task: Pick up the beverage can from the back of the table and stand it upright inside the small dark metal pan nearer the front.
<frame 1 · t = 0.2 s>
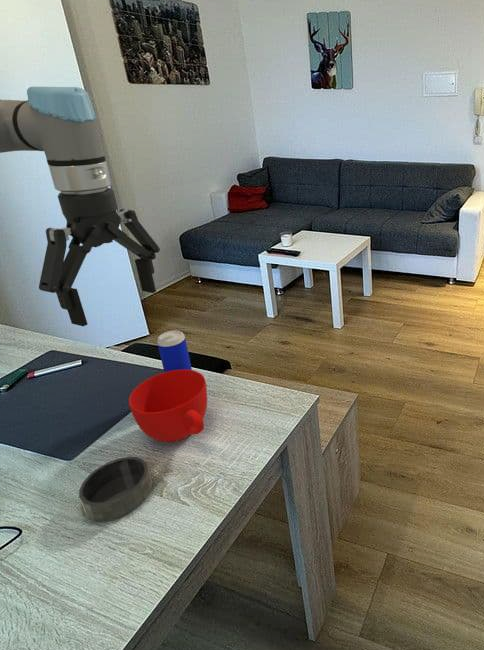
hand: (117, 306, 78), 26 cm above the table, tool pointing down, fingers open, 13 cm apart
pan: (120, 497, 71), on the table
ceramic cup: (183, 435, 84), on the table
beverage can: (183, 395, 96), on the table
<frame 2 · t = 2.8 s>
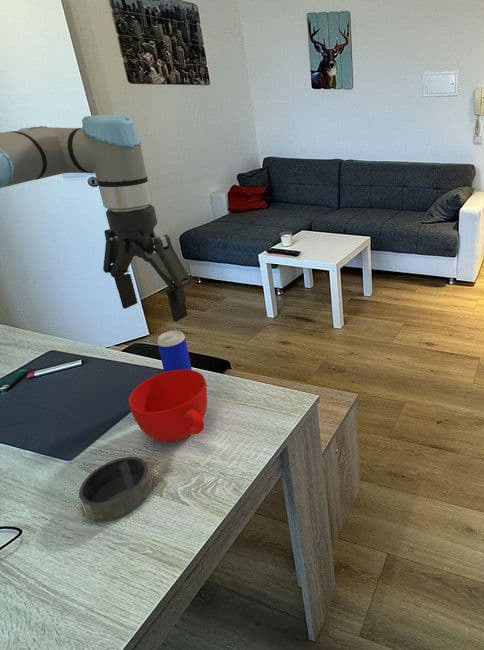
hand: (154, 311, 85), 22 cm above the table, tool pointing down, fingers open, 13 cm apart
nothing on the table moved.
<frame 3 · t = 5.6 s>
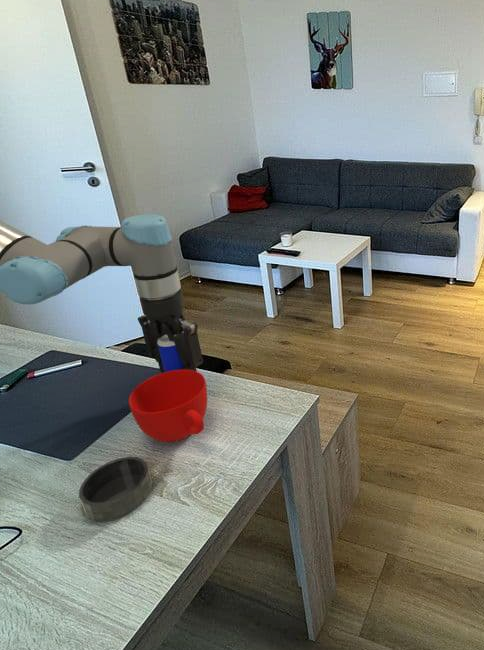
hand: (182, 387, 95), 2 cm above the table, tool pointing down, fingers closed on beverage can, 5 cm apart
beverage can: (183, 395, 96), on the table, touching gripper
everything else where it was.
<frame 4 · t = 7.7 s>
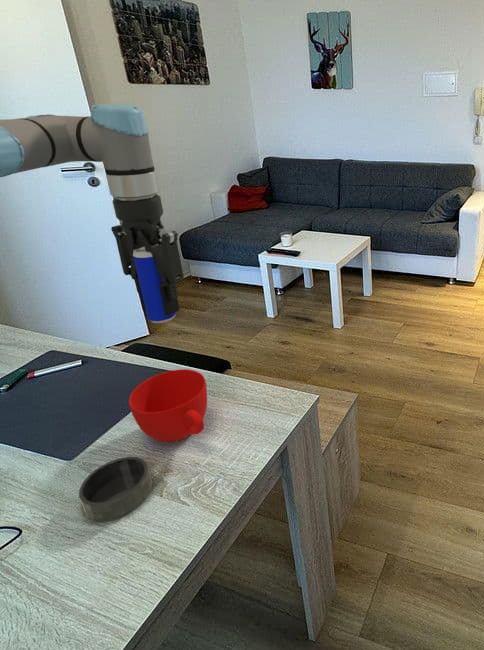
hand: (161, 310, 87), 22 cm above the table, tool pointing down, fingers closed on beverage can, 5 cm apart
beverage can: (163, 318, 87), point 20 cm above the table, touching gripper
everything else where it was.
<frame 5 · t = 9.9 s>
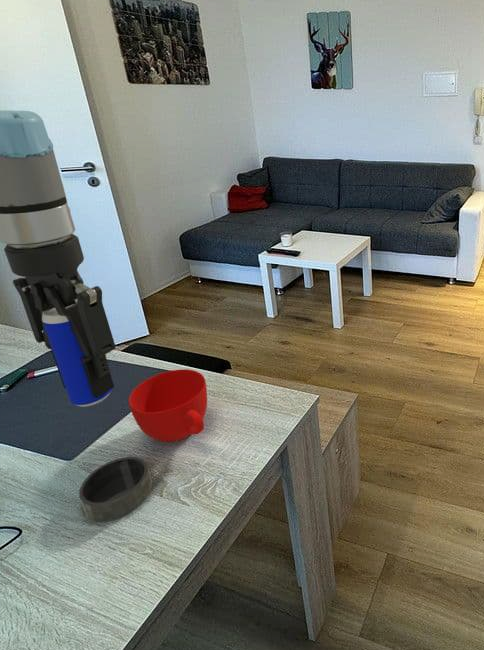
hand: (89, 387, 64), 21 cm above the table, tool pointing down, fingers closed on beverage can, 5 cm apart
beverage can: (93, 398, 65), point 20 cm above the table, touching gripper
everything else where it was.
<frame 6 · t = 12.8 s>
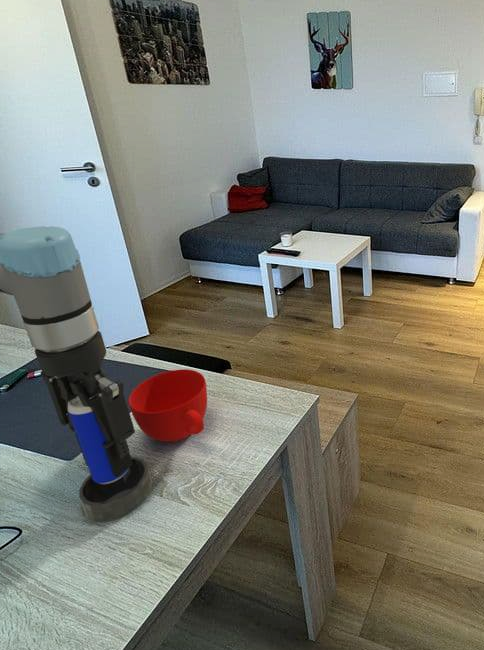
hand: (109, 464, 69), 7 cm above the table, tool pointing down, fingers closed on beverage can, 5 cm apart
beverage can: (112, 473, 69), point 5 cm above the table, touching gripper
everything else where it was.
when the fingers open (3 cm above the table, at t = 15.2 s): beverage can stays where it is, resting on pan.
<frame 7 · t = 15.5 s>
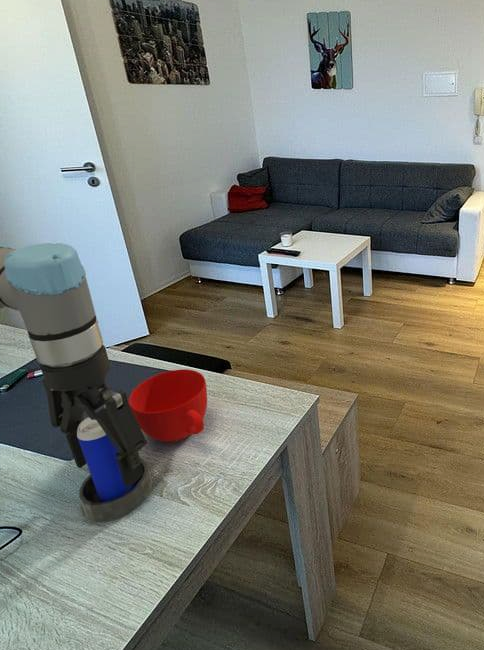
hand: (110, 470, 69), 6 cm above the table, tool pointing down, fingers open, 10 cm apart
beverage can: (119, 495, 71), resting on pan
everything else where it was.
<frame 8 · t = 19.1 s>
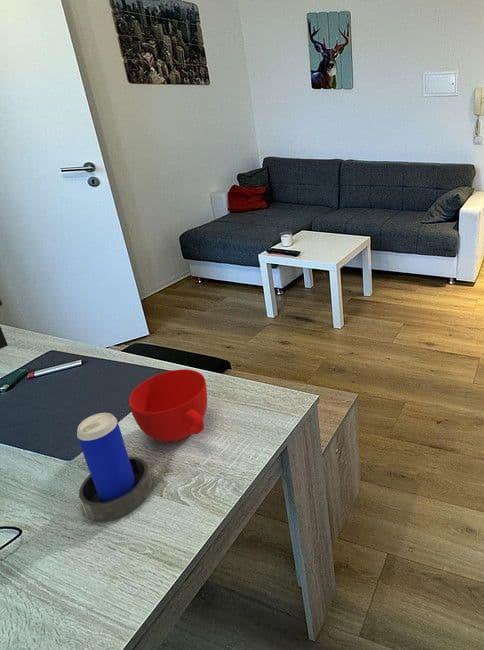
nothing on the table moved.
at the end: beverage can 0.0 cm off-centre in the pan, point 0.4 cm above the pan's base; beverage can tilted 0°; the gripper is holding nothing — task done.
